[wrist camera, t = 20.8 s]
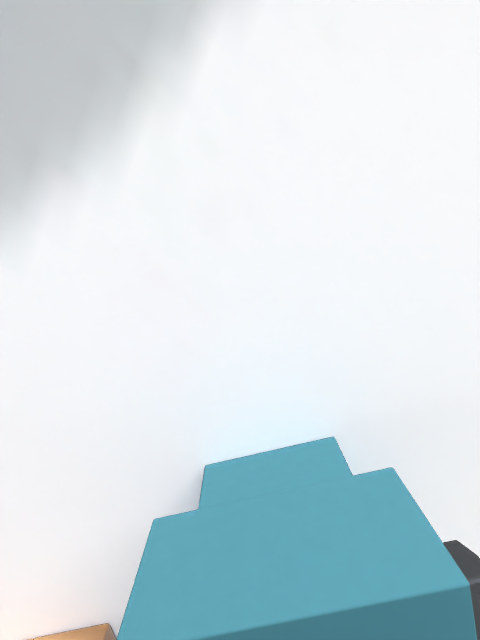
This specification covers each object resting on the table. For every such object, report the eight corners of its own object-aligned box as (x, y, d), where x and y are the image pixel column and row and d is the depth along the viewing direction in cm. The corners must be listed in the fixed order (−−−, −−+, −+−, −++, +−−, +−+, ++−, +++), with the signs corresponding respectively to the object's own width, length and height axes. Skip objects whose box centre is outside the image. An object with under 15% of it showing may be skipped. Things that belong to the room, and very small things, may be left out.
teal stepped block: (221, 591, 13) (206, 873, 7) (174, 449, 12) (110, 654, 6) (383, 558, 13) (504, 826, 7) (354, 408, 12) (470, 583, 6)
